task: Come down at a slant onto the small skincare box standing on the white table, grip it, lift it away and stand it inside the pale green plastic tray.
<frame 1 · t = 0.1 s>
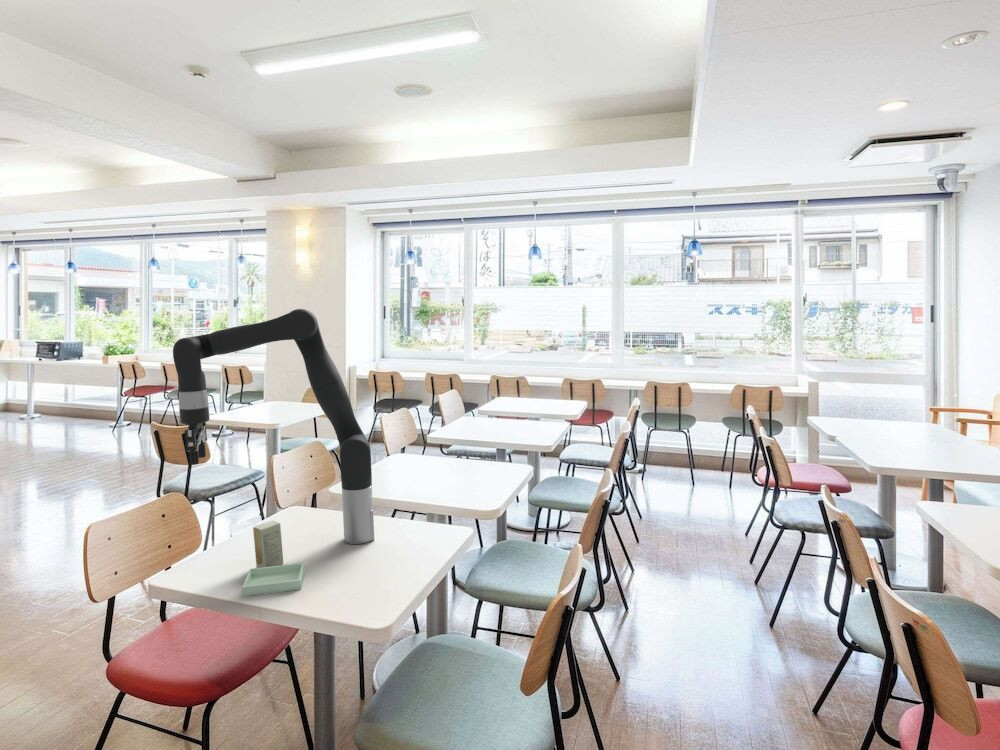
hand: (198, 460, 167), 29 cm above the table, tool pointing down, fingers open, 8 cm apart
skincare box: (269, 566, 162), on the table
tray: (275, 583, 151), on the table
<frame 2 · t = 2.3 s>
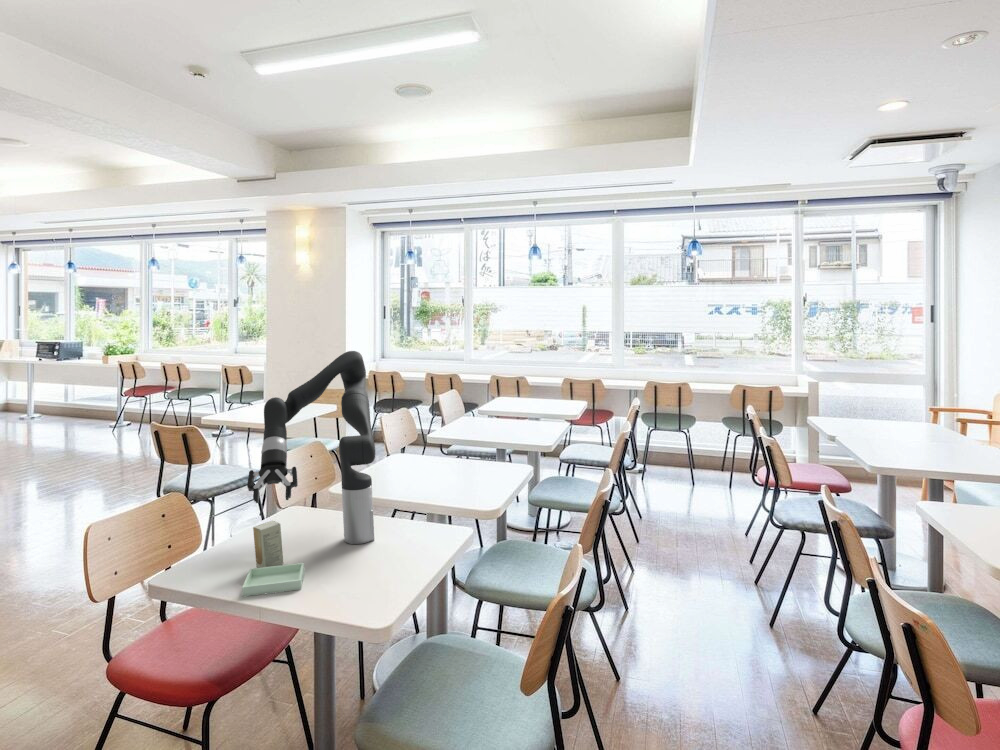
hand: (272, 500, 172), 16 cm above the table, tool tilted 45°, fingers open, 8 cm apart
nothing on the table moved.
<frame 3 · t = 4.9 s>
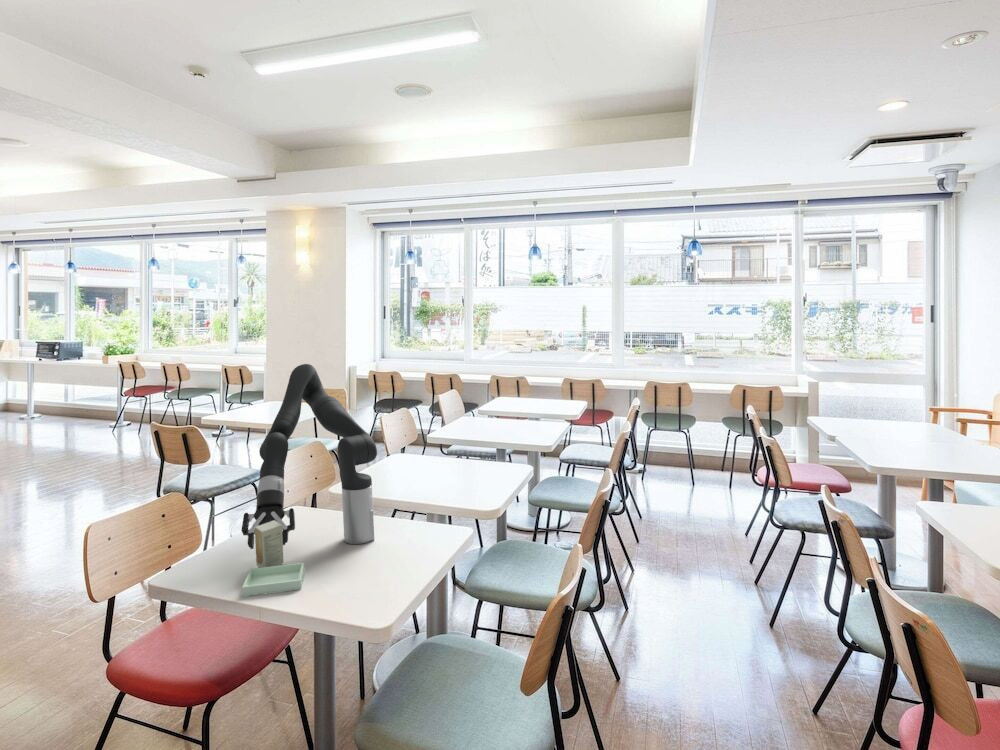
hand: (267, 546, 162), 6 cm above the table, tool tilted 45°, fingers open, 8 cm apart
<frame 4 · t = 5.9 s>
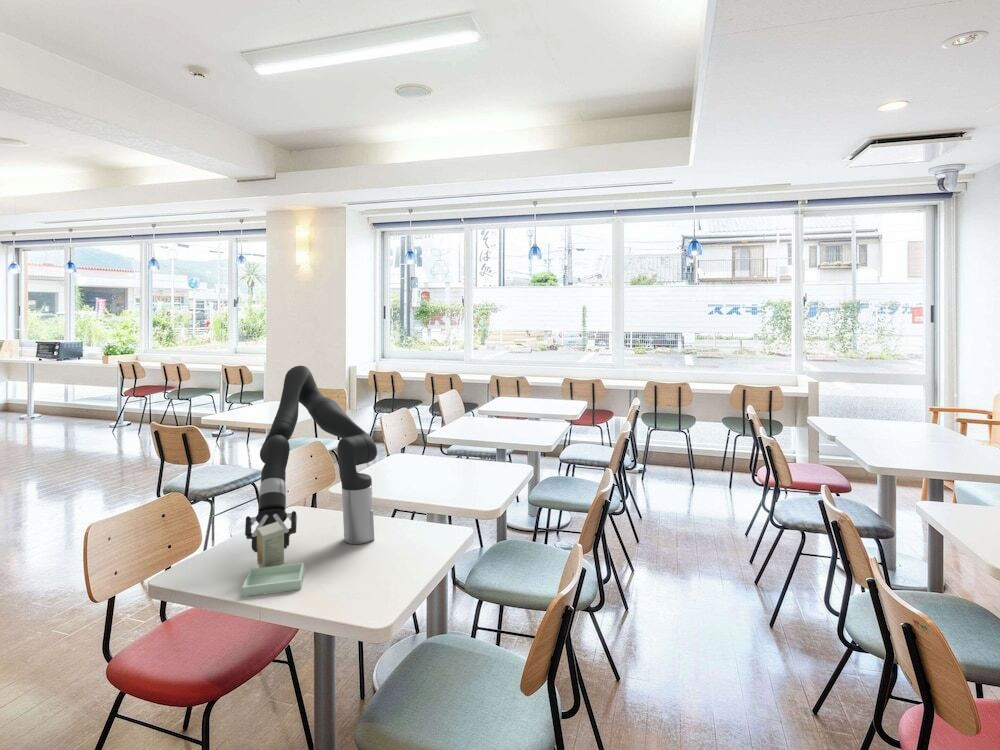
hand: (270, 549, 160), 5 cm above the table, tool tilted 45°, fingers closed on skincare box, 7 cm apart
skincare box: (270, 564, 162), on the table, touching gripper
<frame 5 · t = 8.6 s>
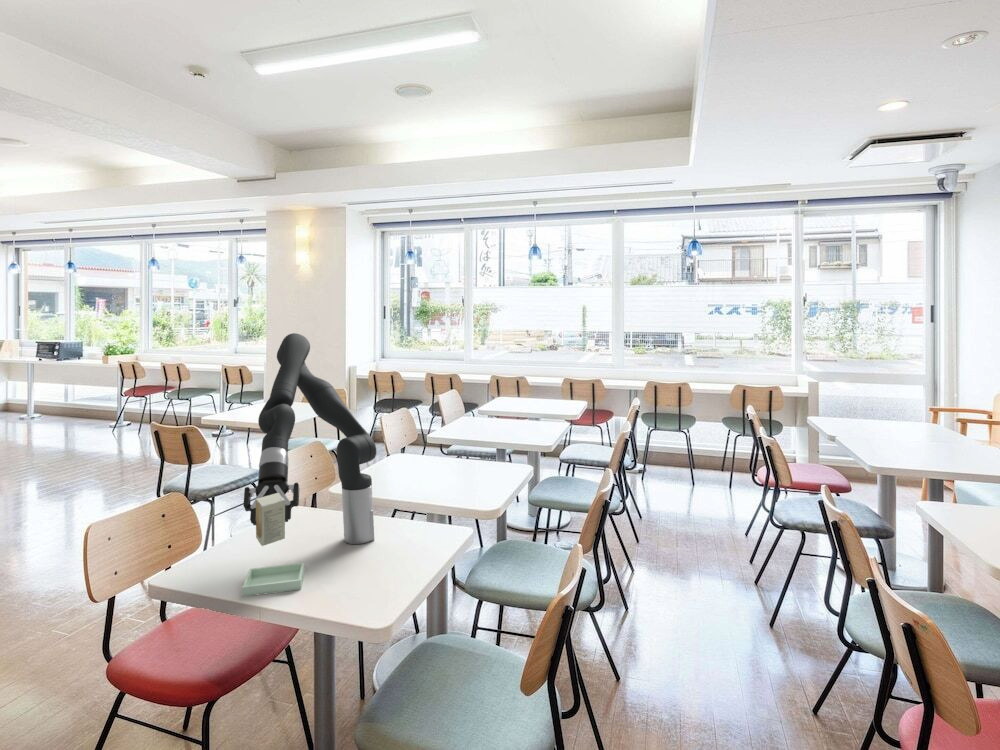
hand: (270, 522, 148), 17 cm above the table, tool tilted 45°, fingers closed on skincare box, 7 cm apart
skincare box: (269, 539, 150), point 12 cm above the table, touching gripper
when the fingers open (7 cm above the table, at t = 11.5 s): skincare box drops 2 cm, resting on tray.
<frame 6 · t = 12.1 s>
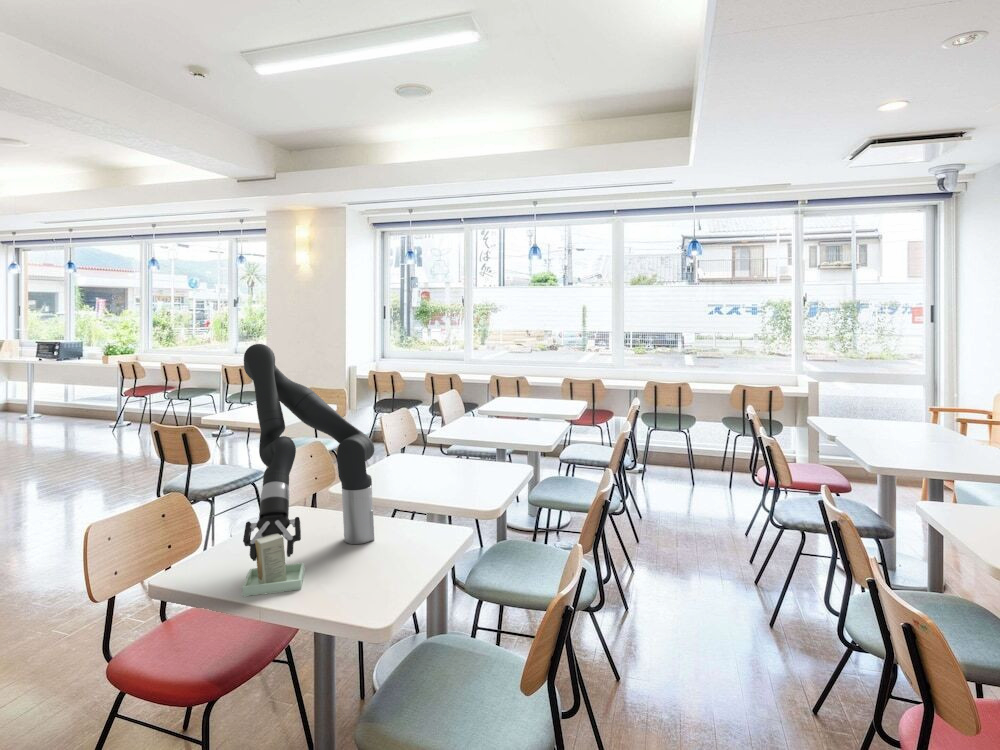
hand: (271, 557, 149), 8 cm above the table, tool tilted 45°, fingers open, 8 cm apart
skincare box: (272, 582, 151), resting on tray, touching gripper
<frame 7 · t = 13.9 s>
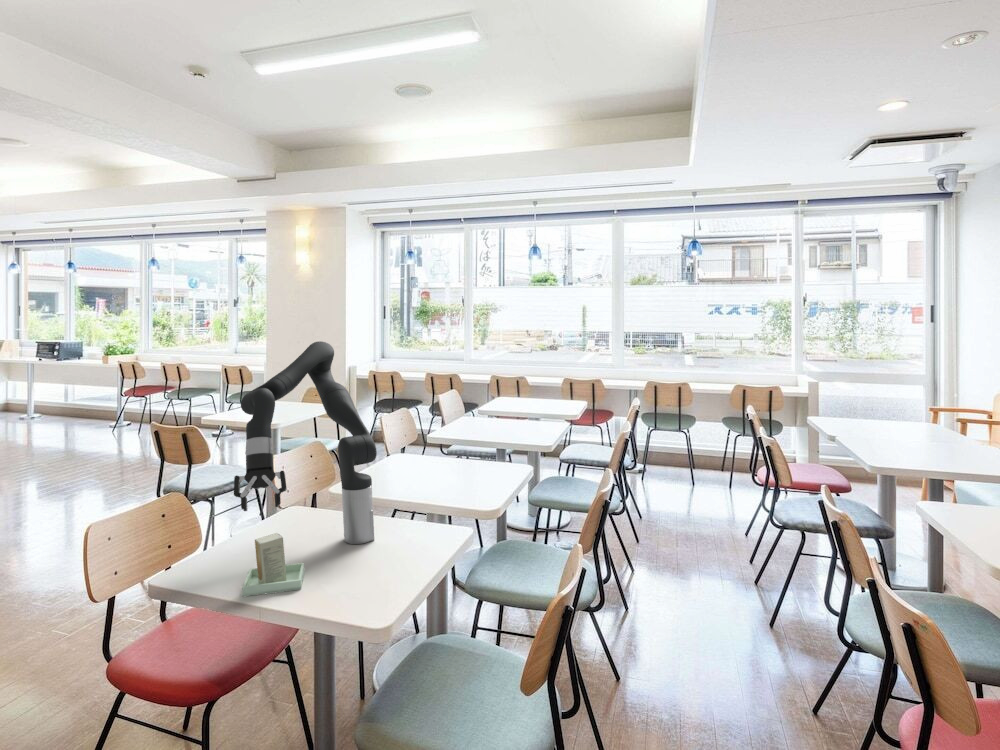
hand: (261, 509, 166), 15 cm above the table, tool tilted 25°, fingers open, 8 cm apart
skincare box: (272, 582, 151), resting on tray
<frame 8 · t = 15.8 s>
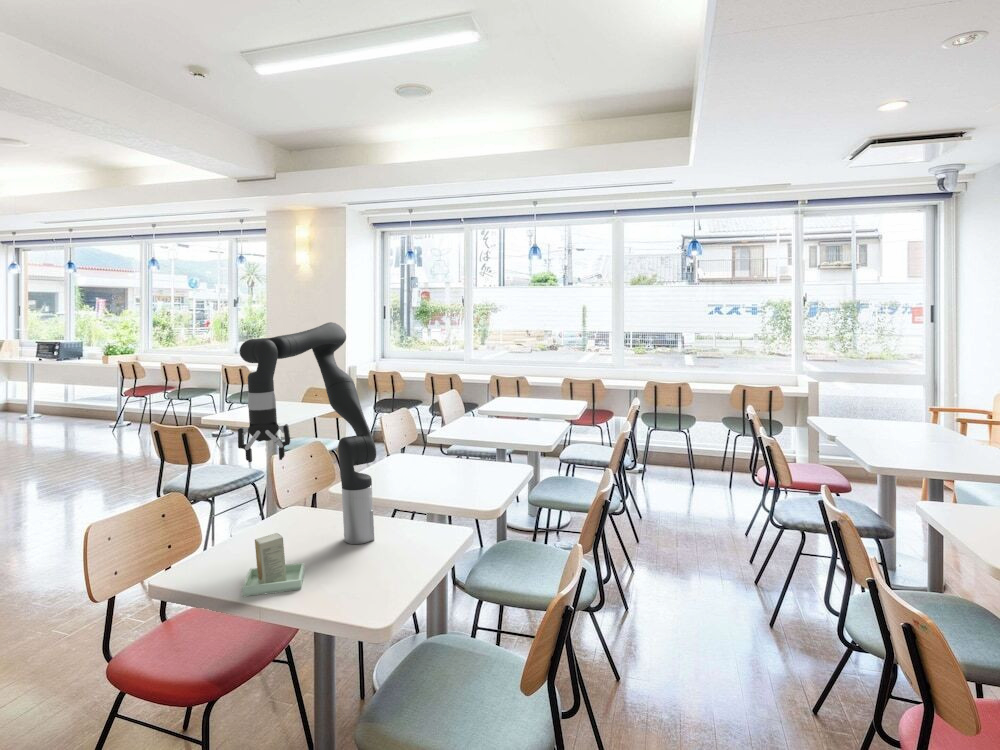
hand: (265, 460, 170), 28 cm above the table, tool pointing down, fingers open, 8 cm apart
nothing on the table moved.
at the end: skincare box inside the target area on the tray (0.7 cm from its centre), point 0.4 cm above the tray's base; skincare box tilted 0°; the gripper is holding nothing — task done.
